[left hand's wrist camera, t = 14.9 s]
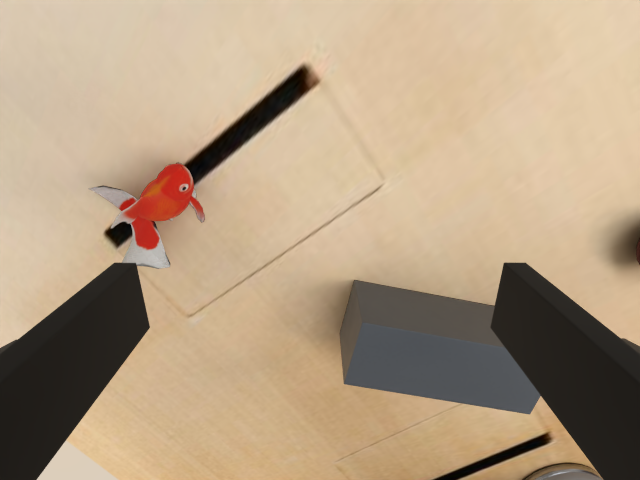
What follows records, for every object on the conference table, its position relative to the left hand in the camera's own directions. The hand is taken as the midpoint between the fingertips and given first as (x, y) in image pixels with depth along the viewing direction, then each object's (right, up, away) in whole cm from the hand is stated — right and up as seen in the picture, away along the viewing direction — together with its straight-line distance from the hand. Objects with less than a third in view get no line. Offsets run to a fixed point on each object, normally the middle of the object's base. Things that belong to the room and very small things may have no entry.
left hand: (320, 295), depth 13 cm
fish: (-19, +6, +30) cm, 36 cm away
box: (+15, -9, +36) cm, 40 cm away
